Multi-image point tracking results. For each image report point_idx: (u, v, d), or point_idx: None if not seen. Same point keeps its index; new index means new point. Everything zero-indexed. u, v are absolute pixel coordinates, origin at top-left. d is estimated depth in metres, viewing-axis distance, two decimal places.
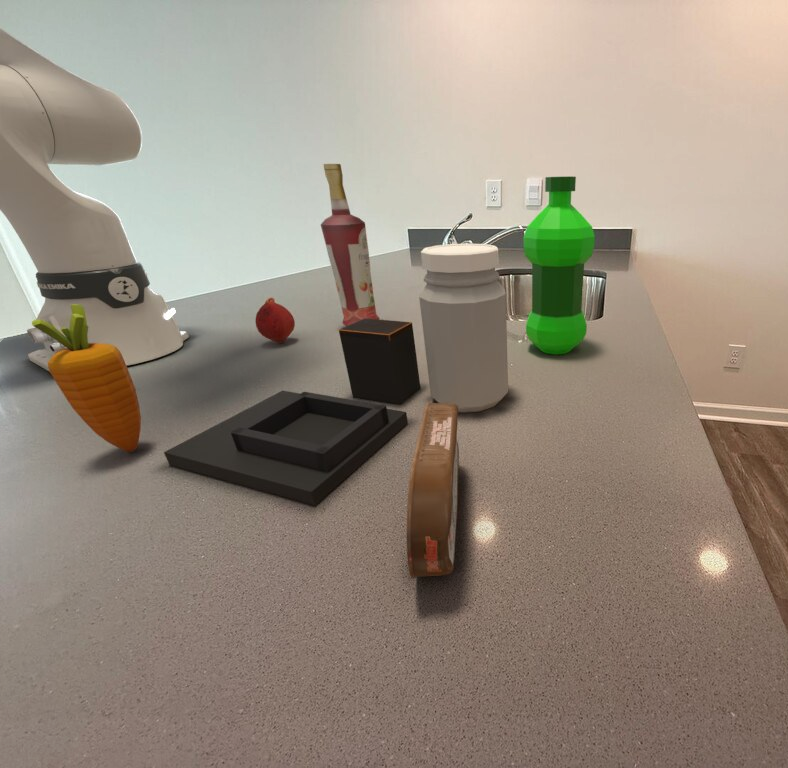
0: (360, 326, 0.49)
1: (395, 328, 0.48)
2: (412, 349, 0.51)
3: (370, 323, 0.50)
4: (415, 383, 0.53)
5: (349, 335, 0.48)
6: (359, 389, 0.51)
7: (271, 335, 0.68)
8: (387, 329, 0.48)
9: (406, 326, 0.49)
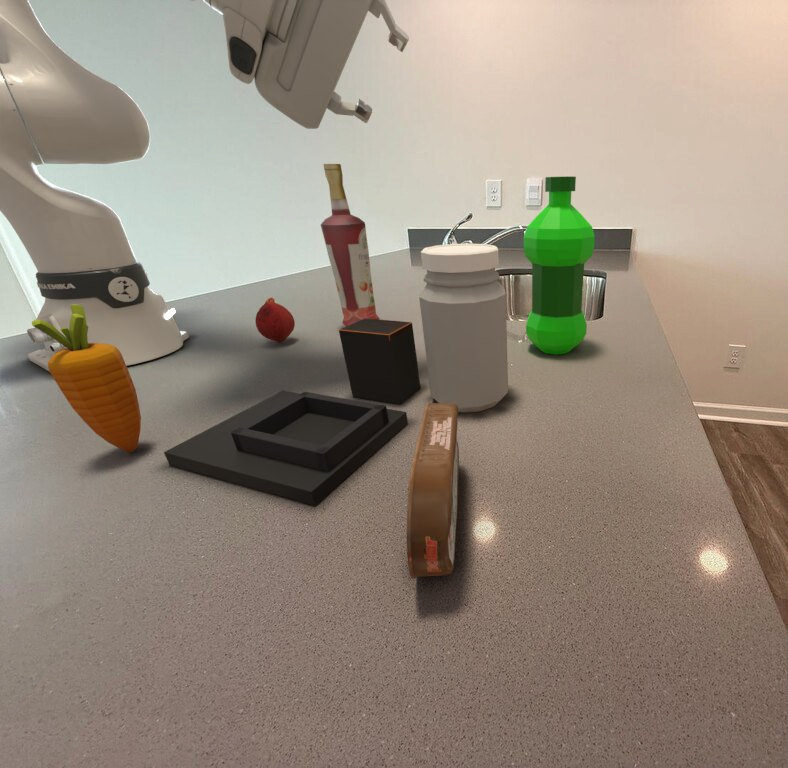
0: (360, 326, 0.49)
1: (395, 328, 0.48)
2: (412, 349, 0.51)
3: (370, 323, 0.50)
4: (415, 383, 0.53)
5: (349, 335, 0.48)
6: (359, 389, 0.51)
7: (271, 335, 0.68)
8: (387, 329, 0.48)
9: (406, 326, 0.49)
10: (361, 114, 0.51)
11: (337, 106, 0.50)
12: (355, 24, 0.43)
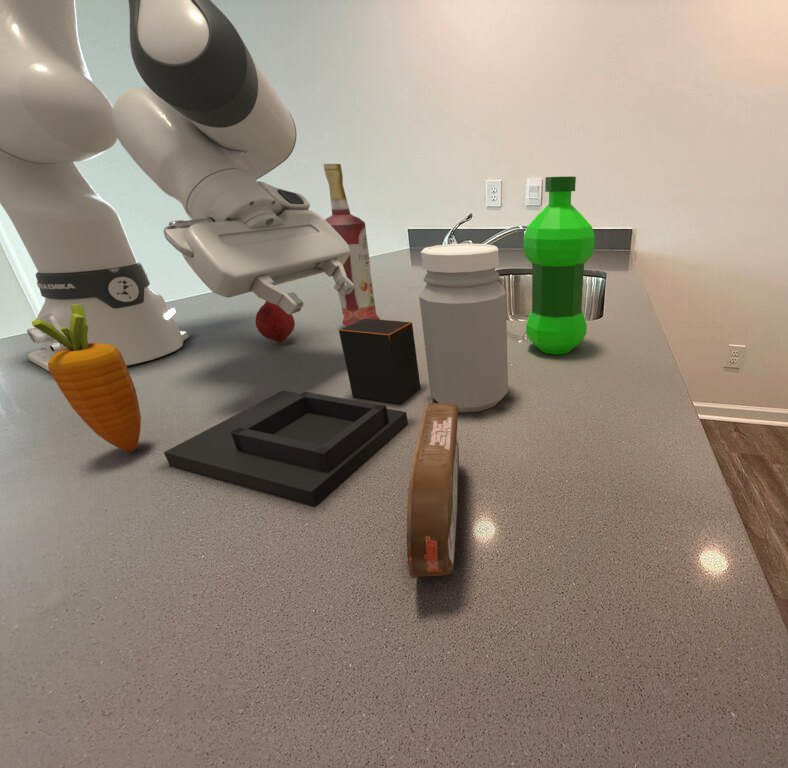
0: (360, 326, 0.49)
1: (395, 328, 0.48)
2: (412, 349, 0.51)
3: (370, 323, 0.50)
4: (415, 383, 0.53)
5: (349, 335, 0.48)
6: (359, 389, 0.51)
7: (271, 335, 0.68)
8: (387, 329, 0.48)
9: (406, 326, 0.49)
10: None
11: (330, 275, 0.56)
12: None
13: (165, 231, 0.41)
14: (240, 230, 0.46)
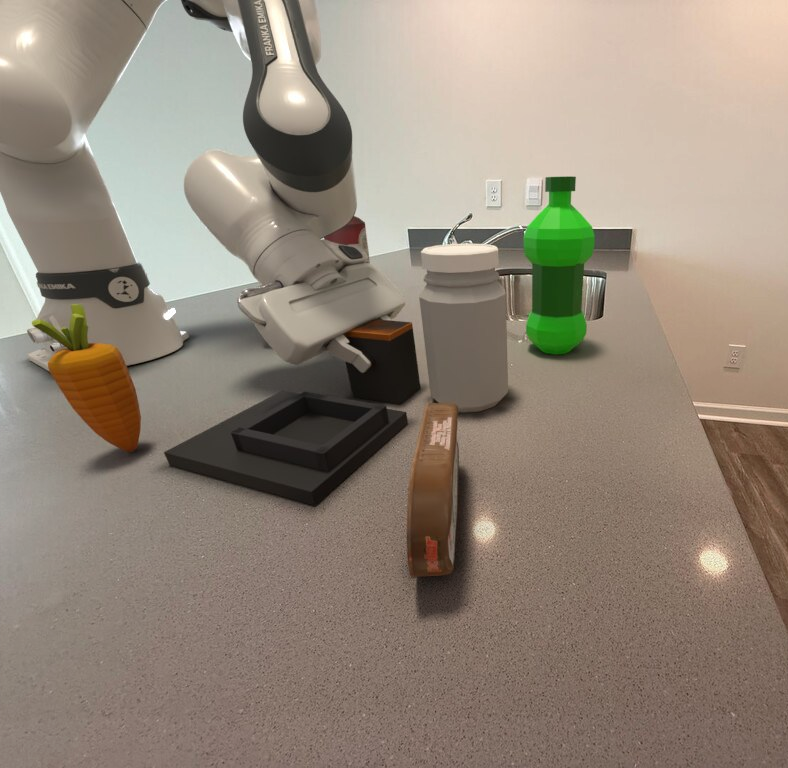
0: (360, 327, 0.49)
1: (395, 328, 0.48)
2: (412, 349, 0.51)
3: (370, 323, 0.50)
4: (415, 383, 0.53)
5: (349, 335, 0.48)
6: (359, 389, 0.51)
7: None
8: (387, 329, 0.48)
9: (406, 326, 0.49)
10: None
11: None
12: None
13: (239, 301, 0.41)
14: (307, 293, 0.46)
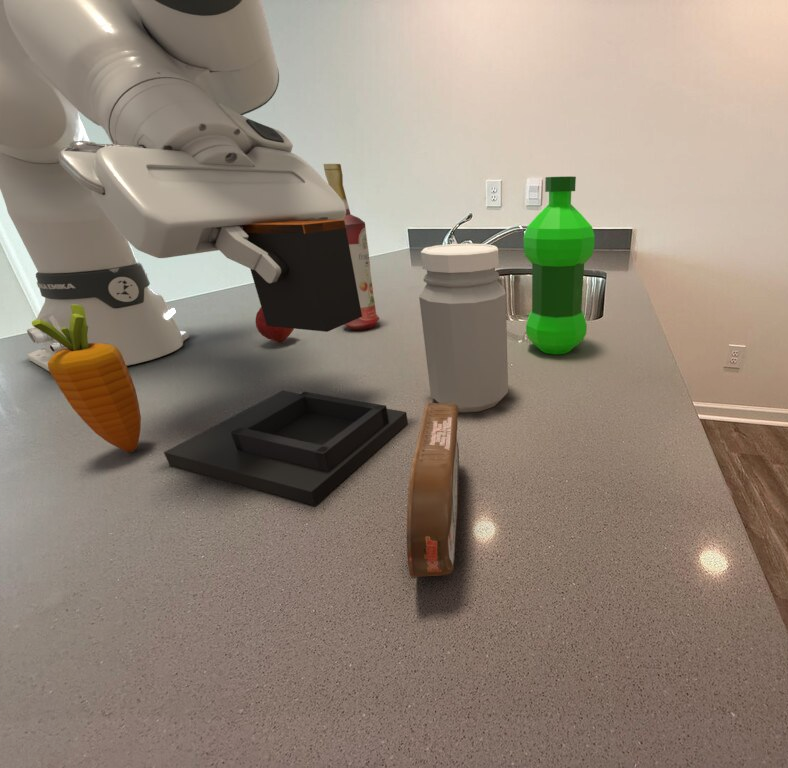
0: (270, 222, 0.35)
1: (316, 221, 0.34)
2: (346, 259, 0.37)
3: None
4: (353, 309, 0.39)
5: (251, 231, 0.34)
6: (273, 313, 0.37)
7: (271, 335, 0.68)
8: (304, 222, 0.34)
9: (334, 222, 0.35)
10: None
11: None
12: None
13: (60, 153, 0.27)
14: (184, 164, 0.32)
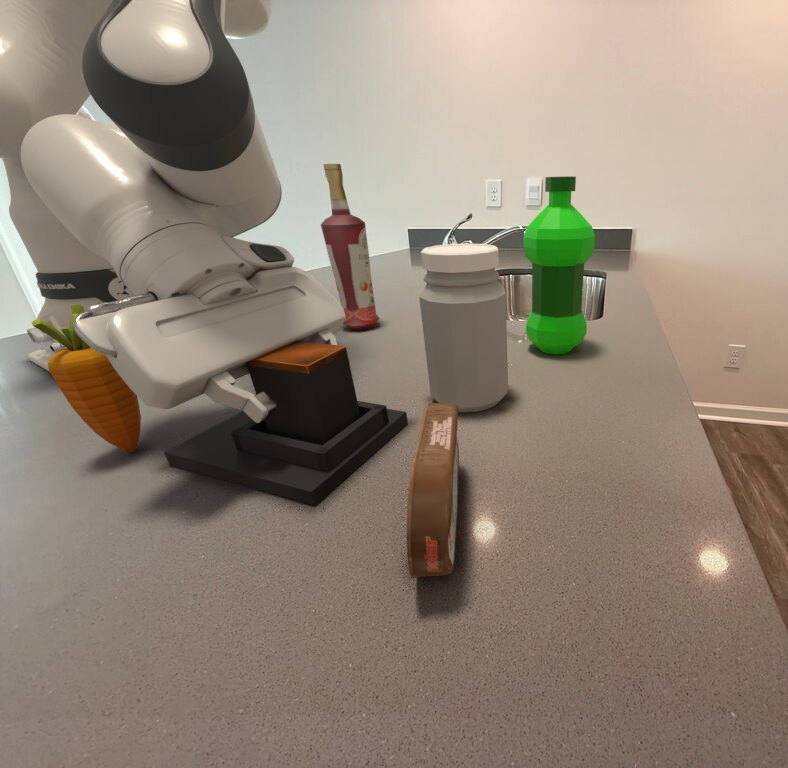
0: (275, 353, 0.37)
1: (319, 355, 0.36)
2: (347, 381, 0.39)
3: (291, 347, 0.38)
4: None
5: (258, 365, 0.36)
6: (278, 433, 0.39)
7: None
8: (308, 356, 0.36)
9: (336, 352, 0.37)
10: None
11: None
12: None
13: (75, 323, 0.29)
14: (191, 309, 0.33)
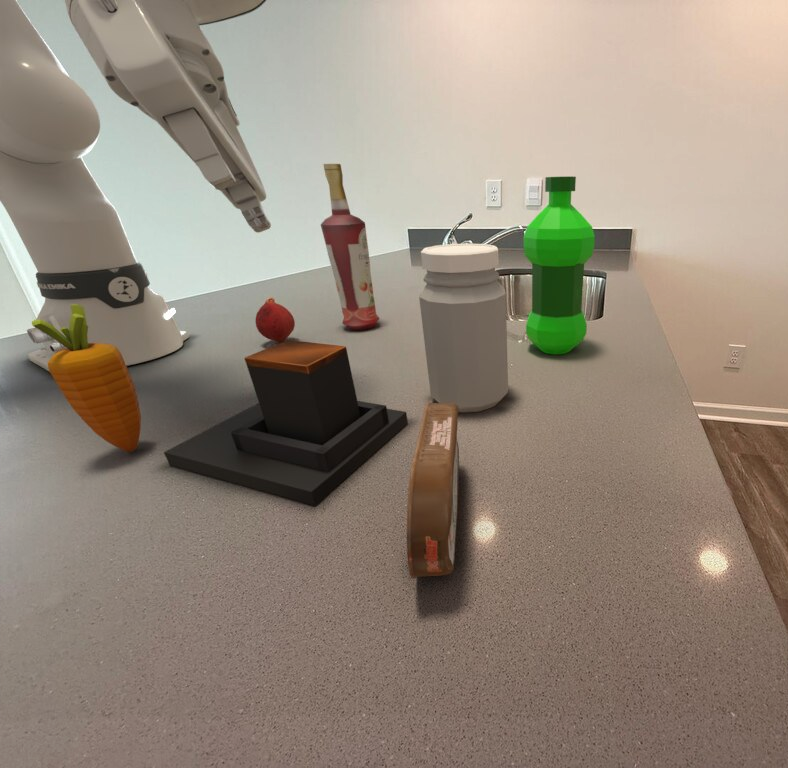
0: (275, 353, 0.37)
1: (319, 355, 0.36)
2: (347, 381, 0.39)
3: (291, 347, 0.38)
4: None
5: (258, 365, 0.36)
6: (278, 433, 0.39)
7: (271, 335, 0.68)
8: (308, 356, 0.36)
9: (336, 352, 0.37)
10: None
11: (235, 201, 0.42)
12: None
13: None
14: (179, 58, 0.32)
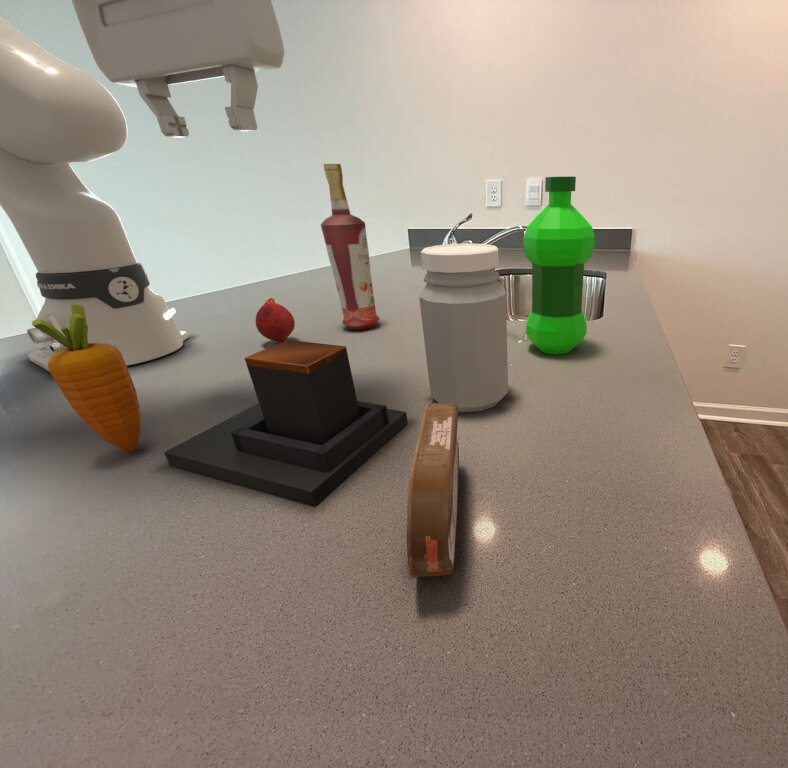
0: (275, 353, 0.37)
1: (319, 355, 0.36)
2: (347, 381, 0.39)
3: (291, 347, 0.38)
4: None
5: (258, 365, 0.36)
6: (278, 433, 0.39)
7: (271, 335, 0.68)
8: (308, 356, 0.36)
9: (336, 352, 0.37)
10: (163, 124, 0.40)
11: (145, 91, 0.39)
12: (197, 58, 0.35)
13: None
14: None
